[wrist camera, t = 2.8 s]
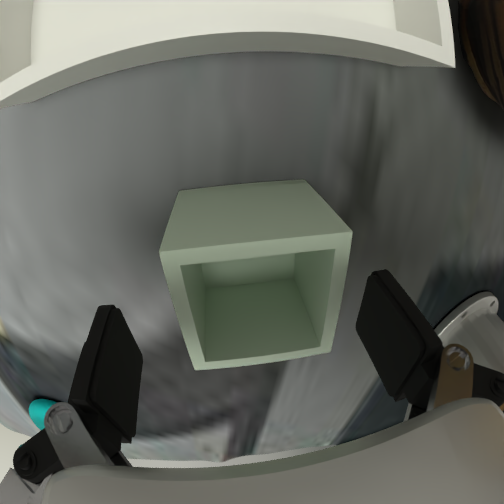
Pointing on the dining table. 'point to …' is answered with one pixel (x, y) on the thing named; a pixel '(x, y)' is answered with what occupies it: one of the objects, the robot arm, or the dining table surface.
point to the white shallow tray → (205, 35)
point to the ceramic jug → (484, 43)
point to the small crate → (255, 272)
